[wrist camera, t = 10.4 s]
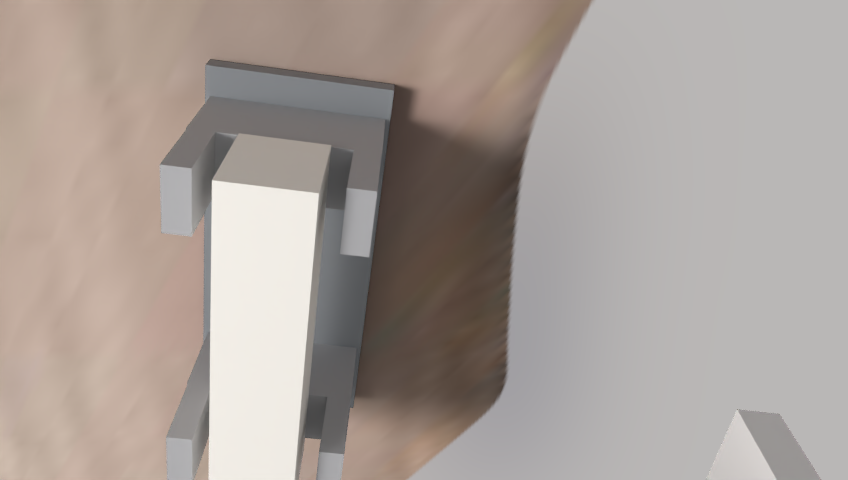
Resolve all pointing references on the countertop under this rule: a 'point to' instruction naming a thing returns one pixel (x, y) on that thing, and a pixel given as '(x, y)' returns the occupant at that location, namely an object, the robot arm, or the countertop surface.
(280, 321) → the rail
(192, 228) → the bracket stand
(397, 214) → the countertop surface
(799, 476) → the robot arm
